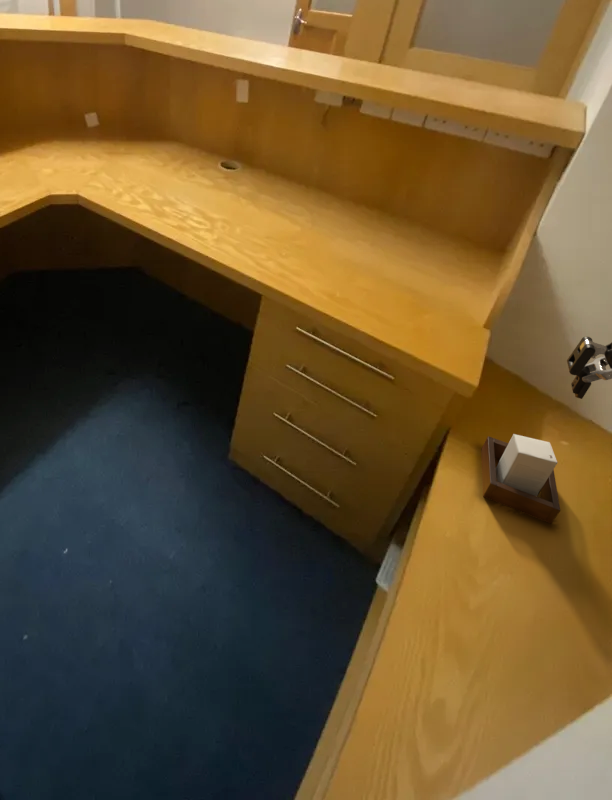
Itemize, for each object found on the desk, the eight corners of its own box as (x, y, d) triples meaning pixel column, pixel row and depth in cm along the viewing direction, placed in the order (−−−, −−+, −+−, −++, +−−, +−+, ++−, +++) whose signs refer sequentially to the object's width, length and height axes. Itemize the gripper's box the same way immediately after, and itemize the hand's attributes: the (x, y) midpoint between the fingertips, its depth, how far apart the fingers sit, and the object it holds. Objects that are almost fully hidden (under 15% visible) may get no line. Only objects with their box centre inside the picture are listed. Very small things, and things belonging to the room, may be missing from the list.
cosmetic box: (527, 480, 97) (551, 442, 91) (533, 502, 93) (559, 463, 87) (491, 471, 99) (512, 432, 93) (496, 492, 95) (519, 453, 89)
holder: (540, 476, 98) (552, 458, 96) (548, 527, 90) (560, 510, 87) (479, 453, 102) (487, 435, 100) (480, 500, 94) (490, 483, 92)
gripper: (605, 327, 69) (559, 405, 77) (746, 364, 63) (679, 444, 72) (594, 295, 75) (552, 370, 83) (722, 326, 69) (663, 404, 77)
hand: (611, 404), depth 77 cm, fingers open, 8 cm apart
